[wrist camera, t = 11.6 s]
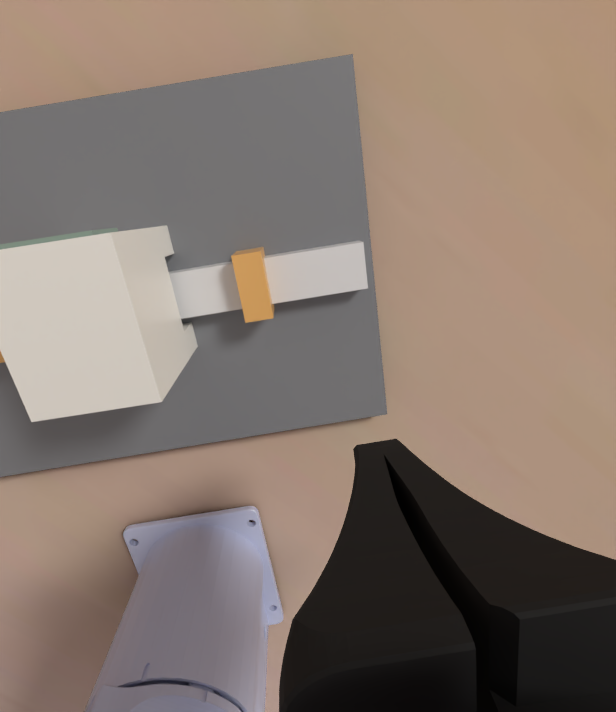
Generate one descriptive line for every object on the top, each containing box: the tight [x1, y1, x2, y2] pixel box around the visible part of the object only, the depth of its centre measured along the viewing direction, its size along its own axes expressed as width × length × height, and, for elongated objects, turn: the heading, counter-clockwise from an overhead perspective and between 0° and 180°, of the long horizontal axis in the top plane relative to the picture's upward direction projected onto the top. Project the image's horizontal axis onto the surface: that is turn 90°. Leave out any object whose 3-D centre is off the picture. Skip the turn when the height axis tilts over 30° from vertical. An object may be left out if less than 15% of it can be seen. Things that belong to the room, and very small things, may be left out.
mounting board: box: [0, 54, 387, 477], centre depth 18 cm, size 16×22×3 cm
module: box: [0, 225, 198, 422], centre depth 16 cm, size 6×4×6 cm
